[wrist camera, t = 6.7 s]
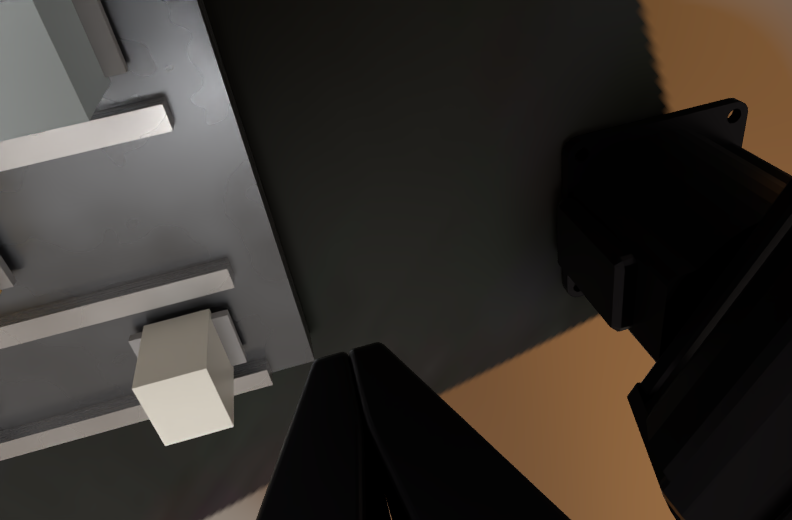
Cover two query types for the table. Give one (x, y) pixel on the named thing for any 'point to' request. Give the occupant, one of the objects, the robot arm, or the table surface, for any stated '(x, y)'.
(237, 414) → the table surface
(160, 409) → the slider cream
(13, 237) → the panel
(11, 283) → the slider amber
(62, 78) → the slider blue
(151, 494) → the table surface
